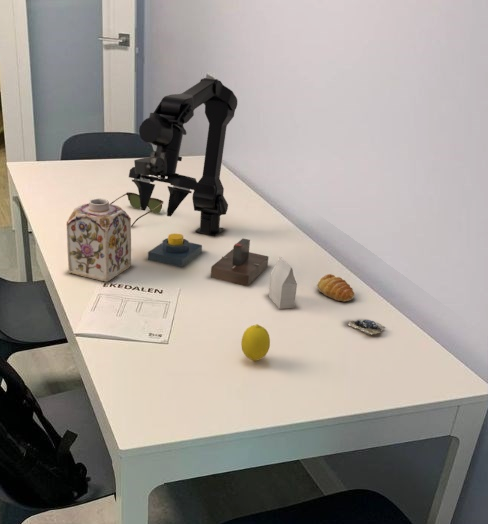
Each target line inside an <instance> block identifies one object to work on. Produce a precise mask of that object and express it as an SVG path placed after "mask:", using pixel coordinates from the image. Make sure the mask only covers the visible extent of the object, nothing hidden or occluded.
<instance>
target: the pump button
mask: <svg viewBox="0 0 488 524" xmlns="http://www.w3.org/2000/svg"><path fill="white" fill-rule="evenodd" d="M167 238H168V244H170V245H182V244H183V239H184V235H183V234H181V233H170V234H168V235H167Z"/></svg>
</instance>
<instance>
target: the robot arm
mask: <svg viewBox="0 0 488 524" xmlns="http://www.w3.org/2000/svg"><path fill="white" fill-rule="evenodd" d="M202 105H204V114H205V116H206V119H207V121H208V131H207V138H206V147H205V154H204V161H203V169H202V176H201V177H200V179H199V180H198V181H197V178H195V177H191V176H188V175H184V174H179V173H176V172H177V168H178V162H182V159H183V157H182V156H180V152H181V146H182V142H183V137H184V136H186V135H187V133H188V132H187V130H186V129H185V126H184V125H185V124H187V123H189V121H190V120H191V119H192V118H193V117H194V115H195V113H194V111H195V109H197V108H198V107H200V106H202ZM237 106H238V98H237V96H236V95H235V93H234V92H233V90H231V89H230V88H228V87H227V86H226V85H224V84H223V83H222V81H221V80H219V79H218V78H210V77H204V78H201V79H200V80H199V82H197V83H196V84H194V85H192V86H191V87H190V88H188V89H186V90H185V91H183V92H182V93H175V94H174V93H173V94H169V95H165V96H164V97H162V99H161V101H160V102H159V104H158V105H157V107H156V108H155V110H153V112H149V117H147V118H144V120H143V121H142V122H141V124H140V126H139V129H138V133H139V137H140V139H141V140H142V141H144V142H145V143H147V144H150V145H153V146H155V147H156V149H155V150H152V151H150V155H149V156H148V157H141V158H137V159H134V160H133V161H134V166H132V167H131V168H130V169H129V173H128V178H129V179H131V182H133V183H134V184H135V186H136V187H137V191H138V195H139V197H140V204H141V208H140V209H141V211H147V208H148V207H147V206H148V203H149V200H150V198H152V195H153V193H154V190H155V187H156V184H154V182H160V183H164V184H165V183H166V184H170V186H169V185H167V190H168V192H169V195H168V202H167V208H166V216H167V217H170V218H171V217H172V216H173V215H174V213H175V212H176V210H177V209H178V208H179V206H180V205H181V204H182V202H183V201H184V200H185V198H186V197H187V196H188V195H189V194H192V197H191V198H192V204H193V211H195V212H200V217H199V218H200V219H199V220H200V221H199V227H198V228H197V229H195V230H194V231H195V232H194V233H197V234H202V235H206V236H211V237H216V236H218V235H219V234H220V233H222V232H223V231H224V227H220V224H221V216H224V215H227V212H228V209H229V203H228V202H227V200H226V197H225V196H224V191H225V190H224V189H225V188H224V186H223V183H222V181H221V177H220V176H221V170H222V163H223V155H224V149H225V142H226V141H225V140H226V135H227V133H226V132H227V127H228V125H229V124H230V122H232V120H233V118H234V117H235V113H236V109H237ZM192 191H193V192H192Z"/></svg>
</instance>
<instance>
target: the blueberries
mask: <svg viewBox="0 0 488 524" xmlns="http://www.w3.org/2000/svg"><path fill="white" fill-rule="evenodd" d="M347 325H348V326H349V327H352V328H353V329H358V330H360V331H362V332H363V333H364V334H366V335H378V334H382V333H383V331H384V329H385V328H386V326H384V325H383V324H381V323H379V322H377V321H374V320H371V319H363V320H362V319H361V320H360V319H358V320H357V319H356V320H350V321H348V323H347ZM386 329H387V328H386Z"/></svg>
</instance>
